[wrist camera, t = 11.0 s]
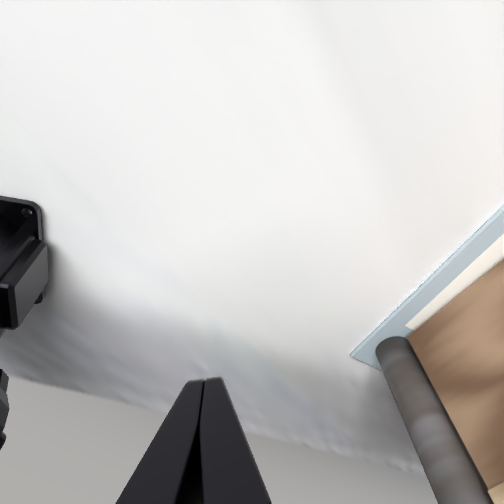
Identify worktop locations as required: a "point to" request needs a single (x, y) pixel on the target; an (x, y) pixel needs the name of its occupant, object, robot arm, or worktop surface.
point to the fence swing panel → (471, 370)
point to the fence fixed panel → (430, 427)
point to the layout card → (440, 287)
